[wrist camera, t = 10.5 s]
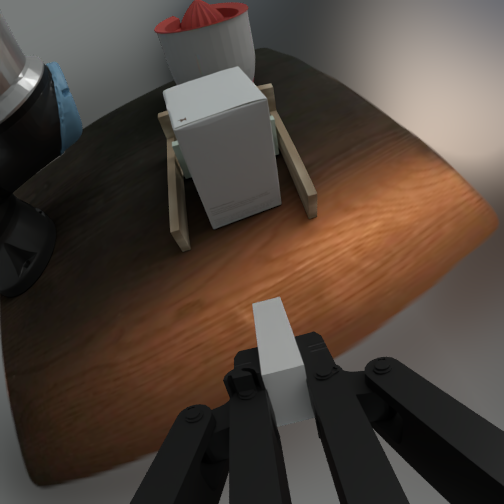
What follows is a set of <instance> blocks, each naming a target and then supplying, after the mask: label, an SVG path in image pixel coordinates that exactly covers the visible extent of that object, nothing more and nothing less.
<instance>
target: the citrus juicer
mask: <svg viewBox="0 0 504 504" xmlns="http://www.w3.org/2000/svg"><path fill="white" fill-rule="evenodd" d="M247 9H248V6H247V5H246V4H243V3H218V4H212V5H209V4H207V3H206V2H204V1H201V0H194V1H193V2H192V4H191V5H190V6H189V8H188V9H187V11H186V13H185V15H184V17H183V20H182V23H180V20H179V18H176V17H174V16H172V17H170V18H168V19H166V20H164V21H162V22H161V23H159V24H158V25H157V26H156V27H155V30H154V31H155V32H156V33H157V34H158V37H159V40H160V43H161V46H162V49H163V52H164V55H165V58H166V61H167V63H168V66H169V69H170V72H171V74H172V76H173V79H174V81H175V82H176V84H177V85H180V84H183V83H186V82H189V81H192V80H195V79H198V78H201V77H204V76H207V75H210V74H213V73H216V72H219V71H222V70H226V69H229V68H233V67H237V66H238V67H239V68H240V69H241V70H242V71H243V72H244V73H245V74H246V75H247V76H248V78H249V79H250V80H251V81H252V82H254V72H255V53H254V45H253V40H252V34H251V29H250V24H249V19H248V13H247Z"/></svg>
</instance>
